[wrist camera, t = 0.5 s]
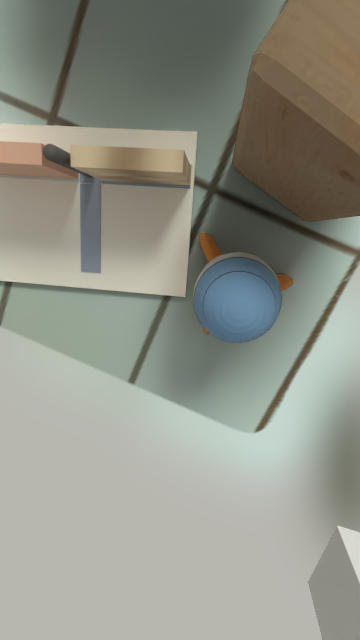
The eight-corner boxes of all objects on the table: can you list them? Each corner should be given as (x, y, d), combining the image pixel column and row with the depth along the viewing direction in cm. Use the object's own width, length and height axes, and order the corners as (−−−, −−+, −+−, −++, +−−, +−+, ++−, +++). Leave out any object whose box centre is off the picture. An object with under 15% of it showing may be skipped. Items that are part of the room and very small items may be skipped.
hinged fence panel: (77, 161, 33) (41, 143, 26) (77, 178, 33) (42, 165, 27) (-8, 156, 34) (-64, 138, 27) (-7, 173, 34) (-62, 159, 27)
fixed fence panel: (86, 180, 34) (43, 163, 26) (86, 163, 34) (42, 140, 25) (190, 186, 33) (181, 170, 25) (191, 168, 33) (182, 147, 24)
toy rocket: (183, 236, 36) (199, 201, 21) (280, 236, 36) (364, 203, 21) (183, 330, 37) (199, 363, 22) (277, 329, 37) (355, 359, 22)
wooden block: (308, 226, 33) (432, 217, 14) (227, 165, 32) (239, 68, 13) (382, 132, 30) (664, -41, 11) (294, 65, 30) (433, -241, 11)
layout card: (-16, 124, 34) (-21, 122, 33) (197, 133, 32) (197, 131, 31) (-4, 279, 38) (-8, 280, 38) (185, 296, 36) (185, 297, 36)
